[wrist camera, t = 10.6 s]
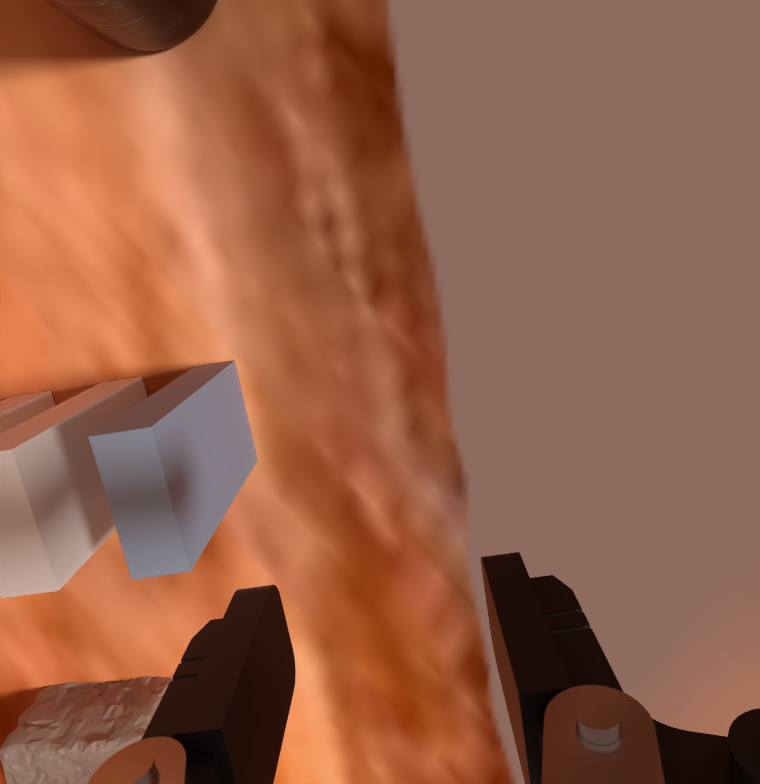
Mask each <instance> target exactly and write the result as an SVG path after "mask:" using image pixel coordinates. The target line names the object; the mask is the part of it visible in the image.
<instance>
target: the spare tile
mask: <svg viewBox="0 0 760 784" xmlns="http://www.w3.org/2000/svg"><path fill="white" fill-rule="evenodd" d="M89 440H90V444H91V447H92V450H93V454H94V457H95V460H96V463H97V467H98V470H99V473H100V477H101V480H102V483H103V487H104V490H105V493H106V497H107V500H108V503H109V506H110V510H111V513H112V516H113V520H114V523H115V526H116V530H117V533H118V536H119V539H120V543H121V546H122V549H123V553H124V556H125V559H126V563H127V566H128V569H129V573H130V576H131V579H132V580H133V579H140V578H148V577H155V576H162V575H169V574H176V573H184V572H191V570H192V568H193V567H194V565H195V563H196V562H197V560H198V558H199V557H200V555H201V553H202V552H203V550H204V548H205V547H206V545H207V543H208V542H209V540H210V538H211V537H212V535H213V533H214V532H215V530H216V529H217V527H218V525H219V524H220V522H221V520H222V519H223V517H224V515H225V514H226V512H227V510H228V509H229V507H230V505H231V504H232V502H233V500H234V499H235V497H236V495H237V494H238V492H239V490H240V489H241V487H242V485H243V484H244V482H245V480H246V479H247V477H248V475H249V474H250V472H251V470H252V469H253V467H254V465H255V464H256V462H257V460H258V459H257V455H256V451H255V446H254V442H253V438H252V433H251V429H250V425H249V420H248V416H247V412H246V407H245V403H244V399H243V394H242V390H241V386H240V381H239V377H238V373H237V368H236V364H235V361H229V362H223V363H217V364H211V365H204V366H198V367H193V368H191V369H190V370H188V371H187V372H185V373H184V374H182V375H181V376H179V377H178V378H176V379H175V380H173V381H172V382H170V383H169V384H167V385H166V386H164V387H163V388H161V389H160V390H158V391H157V392H155V393H154V394H152V395H151V396H149V397H148V398H146V399H145V400H143V401H142V402H140V403H139V404H137V405H136V406H134V407H133V408H131V409H130V410H128V411H127V412H125V413H124V414H122V415H121V416H119V417H118V418H116V419H115V420H113V421H112V422H110V423H109V424H107V425H106V426H104V427H103V428H101V429H100V430H98V431H97V432H95V433H94V434H92V435H91V436H89Z"/></svg>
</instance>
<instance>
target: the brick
mask: <svg viewBox="0 0 760 784" xmlns="http://www.w3.org/2000/svg"><path fill="white" fill-rule="evenodd" d="M170 681H173V680H172V679H171V678H165V677H156V678H151V677H149V676H143V677H140V678H136V679H132V680H130V681H127V680H124V681H122V682H105V683H99V684H96V683H94V682H92V683H78V682H68V683H63V684H57V685H50V686H48V687H46V688H44V689H42V690H40V692H39V693H38V695H37V697H36V698H35V701H34V703H33V704H32V705H30V706H29V707H28V708H27V709H26V710H25V711H24V712H23V713H22V714H21V715H20V716H19V717H18V727H17V728H16V729H15V730H14V731H12V732H11V733H10V734H9V735H8V736H7V738H6V739H5V741H4V743H3V745H2V746H1V748H0V761H1V765H2V768H3V771H4V775H5V780H6V783H7V784H87V783H88V781H89V780H90V778H91V777H92V775H93V774H94V773H95V771H96V770H97V769H98V768H99V767H100V766H101V765H102V764H103V763H104V762H105V761H106V760H107V759H108V758H110V757H111V756H112V755H114V754H115V753H116V752H118V751H119V750H121V749H123V748H124V747H126V746H128V745H130V744H132V743H134V742H137V741H140V740H141V739H142V737H143V735H144V733H145V731H146V729H147V727H148V725H149V723H150V721H151V719H152V717H153V715H154V713H155V711H156V709H157V707H158V705H159V703H160V701H161V699H162V697H163V695H164V693H165V691H166V689H167V687H168V685H169V683H170Z"/></svg>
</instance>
